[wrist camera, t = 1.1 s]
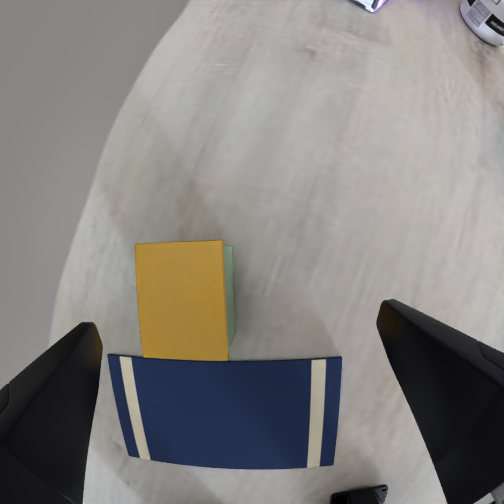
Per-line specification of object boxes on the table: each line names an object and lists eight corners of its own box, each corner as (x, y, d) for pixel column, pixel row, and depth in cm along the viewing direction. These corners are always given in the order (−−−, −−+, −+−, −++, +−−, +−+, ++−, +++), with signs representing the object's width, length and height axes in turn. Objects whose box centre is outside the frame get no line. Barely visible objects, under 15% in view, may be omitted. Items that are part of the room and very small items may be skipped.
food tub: (238, 336, 25) (227, 361, 18) (171, 335, 25) (142, 357, 19) (234, 243, 25) (222, 239, 19) (166, 246, 25) (134, 243, 19)
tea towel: (332, 463, 24) (333, 465, 24) (130, 453, 25) (128, 456, 25) (341, 356, 24) (342, 357, 24) (109, 353, 26) (107, 354, 25)
